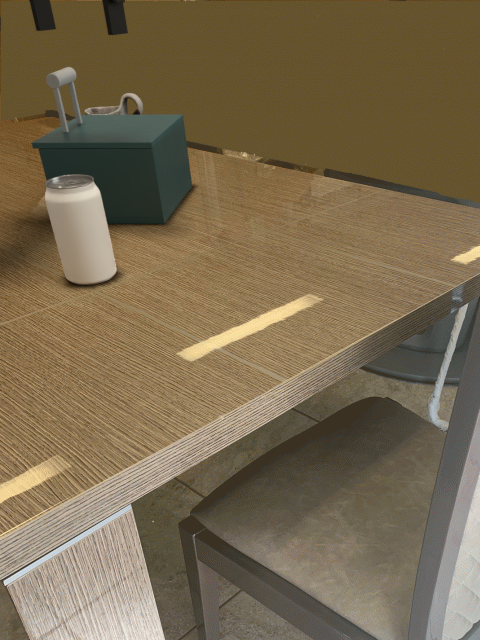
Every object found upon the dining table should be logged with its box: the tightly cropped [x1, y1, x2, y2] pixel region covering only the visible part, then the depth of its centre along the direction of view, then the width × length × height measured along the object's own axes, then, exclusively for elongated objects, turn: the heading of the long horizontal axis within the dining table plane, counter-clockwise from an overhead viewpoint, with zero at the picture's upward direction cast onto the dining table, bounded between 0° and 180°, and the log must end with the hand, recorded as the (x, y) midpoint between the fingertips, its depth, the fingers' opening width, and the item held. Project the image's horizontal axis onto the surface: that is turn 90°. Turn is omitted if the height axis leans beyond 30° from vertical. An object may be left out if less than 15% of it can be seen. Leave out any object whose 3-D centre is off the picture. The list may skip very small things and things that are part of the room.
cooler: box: [38, 119, 193, 225], centre depth 104 cm, size 17×20×11 cm
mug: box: [84, 92, 144, 115], centre depth 140 cm, size 10×12×10 cm
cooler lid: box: [31, 66, 185, 150], centre depth 99 cm, size 18×20×9 cm
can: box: [44, 174, 118, 286], centre depth 80 cm, size 6×6×12 cm
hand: (81, 32), depth 85 cm, fingers open, 13 cm apart
